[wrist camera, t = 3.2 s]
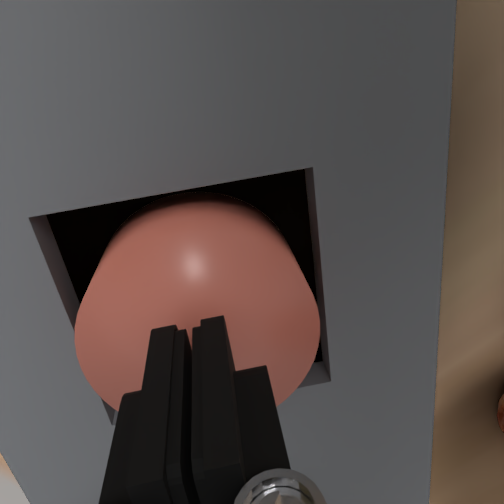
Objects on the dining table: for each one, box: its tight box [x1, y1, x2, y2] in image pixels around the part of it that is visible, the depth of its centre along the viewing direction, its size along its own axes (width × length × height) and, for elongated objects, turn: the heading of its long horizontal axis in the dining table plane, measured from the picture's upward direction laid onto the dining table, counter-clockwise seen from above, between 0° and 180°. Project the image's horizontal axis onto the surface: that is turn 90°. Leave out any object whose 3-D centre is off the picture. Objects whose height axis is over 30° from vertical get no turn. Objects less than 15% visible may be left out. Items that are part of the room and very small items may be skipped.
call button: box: [74, 192, 320, 411], centre depth 12 cm, size 6×6×3 cm
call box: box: [0, 0, 457, 504], centre depth 15 cm, size 22×14×6 cm, turn 9°
